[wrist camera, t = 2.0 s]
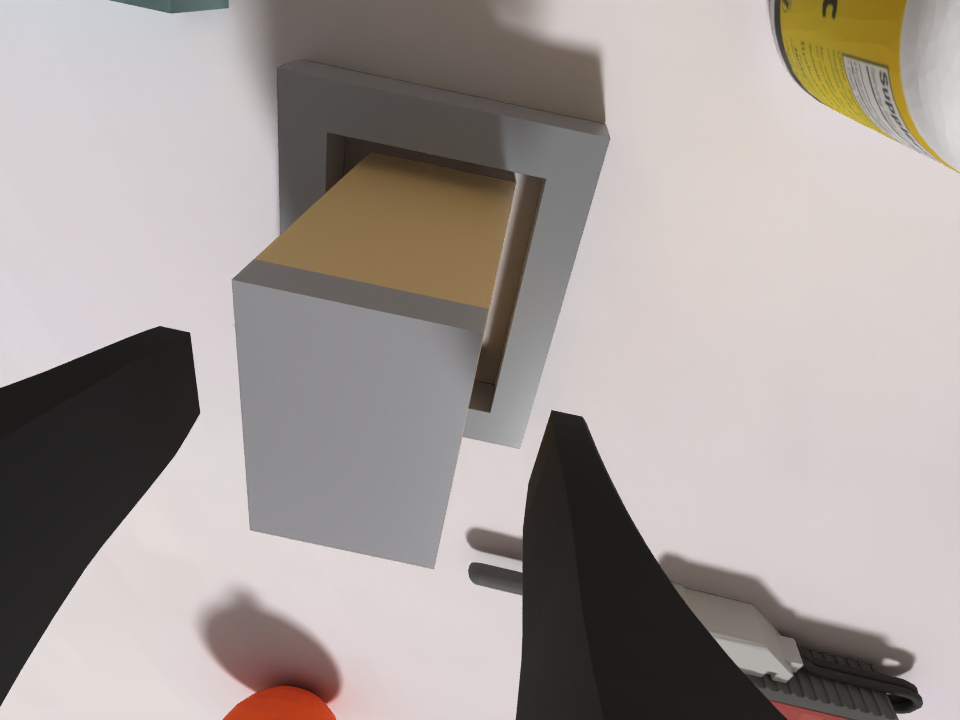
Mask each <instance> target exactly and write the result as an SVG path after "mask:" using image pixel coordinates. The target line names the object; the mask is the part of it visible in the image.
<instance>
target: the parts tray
mask: <svg viewBox="0 0 960 720" xmlns="http://www.w3.org/2000/svg"><path fill="white" fill-rule="evenodd" d="M111 1H115V2H120V3H125V4H130V5H134V6H139V7H144V8H148V9H153V10H158V11H162V12H167V13H181V12H191V11H202V10H212V9H223V8H228V0H111Z"/></svg>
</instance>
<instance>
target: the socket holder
mask: <svg viewBox="0 0 960 720" xmlns="http://www.w3.org/2000/svg"><path fill="white" fill-rule="evenodd" d="M277 98H278V148H279V198H280V235H281V234H282V233H283V232H284V231H285V230H286V229H287V228H289V227H290V226H291V225H292V224H293V223H294V222H295V221H296V220H297V219H298V218H299V217H300V216H302V215H303V214H304V213H305V212H306V211H307V210H308V209H309V208H310V207H311V206H312V205H313V204H315V203H316V202H317V201H318V200H319V199H320V198H321V197H322V196H323V195H324V194H325V193H326V192H328V191H329V190H330V189H331V188H332V187H333V186H334V185H335V184H336V183H337V182H338V181H340V180H341V179H342V178H343V176H344V153H345V136H347V137H351V138H356V139H361V140H365V141H370V142H375V143H380V144H384V145H389V146H394V147H398V148H403V149H408V150H412V151H417V152H422V153H427V154H431V155H436V156H441V157H445V158H450V159H455V160H460V161H464V162H469V163H474V164H478V165H483V166H488V167H493V168H497V169H502V170H507V171H511V172H516V173H521V174H525V175H530V176H535V177H540V178H544V180H543V184H542V189H541V193H540V197H539V201H538V205H537V210H536V214H535V218H534V222H533V226H532V231H531V235H530V239H529V243H528V248H527V252H526V256H525V260H524V264H523V269H522V273H521V277H520V281H519V285H518V290H517V294H516V298H515V302H514V307H513V311H512V315H511V319H510V323H509V328H508V332H507V336H506V340H505V344H504V349H503V353H502V357H501V361H500V366H499V370H498V374H497V378H496V382H495V385H492V384H488V383H483V382H478V381H474V384H473V389H472V393H471V398H470V403H469V407H468V412H467V417H466V421H465V426H464V431H463V435H462V437H465V438H470V439H475V440H480V441H484V442H489V443H494V444H498V445H503V446H508V447H513V448H517V449H520V447H521V444H522V440H523V437H524V433H525V430H526V426H527V423H528V420H529V416H530V413H531V409H532V406H533V402H534V399H535V395H536V392H537V389H538V385H539V382H540V378H541V375H542V371H543V368H544V364H545V361H546V358H547V354H548V351H549V347H550V344H551V340H552V337H553V333H554V330H555V327H556V323H557V320H558V316H559V313H560V309H561V306H562V302H563V299H564V296H565V292H566V289H567V285H568V282H569V278H570V275H571V271H572V268H573V265H574V261H575V258H576V254H577V251H578V247H579V244H580V240H581V237H582V234H583V230H584V227H585V223H586V220H587V216H588V213H589V209H590V206H591V203H592V199H593V196H594V192H595V189H596V185H597V182H598V178H599V175H600V172H601V168H602V165H603V161H604V158H605V154H606V151H607V147H608V144H609V141H610V136H609V133H608V129H607V126H606V124H602V123H597V122H592V121H587V120H583V119H578V118H573V117H569V116H564V115H559V114H554V113H550V112H545V111H540V110H536V109H531V108H526V107H522V106H517V105H512V104H507V103H503V102H498V101H493V100H489V99H484V98H479V97H474V96H470V95H465V94H460V93H456V92H451V91H446V90H442V89H437V88H432V87H427V86H423V85H418V84H413V83H409V82H404V81H399V80H394V79H390V78H385V77H380V76H376V75H371V74H366V73H361V72H357V71H352V70H347V69H343V68H338V67H333V66H329V65H324V64H319V63H314V62H310V61H305V60H299V61H295V62H292V63H289V64H286V65H283V66H280V67H277Z"/></svg>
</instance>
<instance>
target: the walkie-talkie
mask: <svg viewBox="0 0 960 720" xmlns="http://www.w3.org/2000/svg"><path fill="white" fill-rule="evenodd" d="M468 572H469V578H470V579H471V581H472V582H473V583H475V584H476V585H480V586H485V587H489V588H493V589H497V590H501V591H506V592H510V593H514V594H518V595H522V596H523V573H521V572H517V571H513V570H508V569H504V568H500V567H495V566H491V565H487V564H483V563H474V562H473V563H471V564H470V566H469V569H468ZM671 583H672V584H673V586H674V587H675V589H676V590H677V592H678V593H679V594H680V596H681V597H682V598H683V600H684V601H685V602H686V604H687V605H688V606H689V608H690V609H691V610H692V612H693V613H694V614H695V615H696V617H697V618H698V619H699V620H700V622H701V623H702V624H703V625H704V626H705V628H706V629H707V630H708V631H709V633H710V634H711V635H712V636H713V637H714V639H715V640H716V641H717V642H718V644H719V645H720V646H721V647H722V648H723V650H724V651H725V652H726V653H727V654H728V656H729V657H730V658H731V659H732V660H733V661H734V663H735V664H736V665H737V666H738V667H739V668H740V669H741V671H742V672H743V673H744V674H745V675H746V676H747V677H748V678H749V679H750V680H751V681H752V682H753V684H754V685H755V686H756V687H757V688H758V689H759V690H760V691H761V692H762V693H763V694H764V695H765V696H766V698H767V699H768V700H769V701H770V702H771V703H772V704H773V705H774V706H775V707H776V708H777V709H778V710H779V711H780V712H781V713H782V714H783V715H784V716H785V717H786V718H787V719H788V720H899V719H898V717H897V715H896V713H897V714H904V713H911V712H913V711H915V710H917V709H919V708H921V707H922V704H923V701H922V697H921V696H920V695H919V694H918V690H917V688H916V686H915V685H914V684H912V683H910V682H908V681H906V680H904V679H901V678H897V677H892V676H888V675H884V674H880V673H877V672H876V670H875V668H874V667H873V665H872V664H870V665H867V664H863V662H860V661H858V662H854V661H851V659H842V658H839V656H829V655H827V653H822V654H821V653H817V652H815V651H814V650H810V651H808V650H804V649H803V648H802V647H798V648H797V645H796V642H795V639H793V638H789V637H785V636H780V634H779V632H778V631H777V630H776V629H775V628H774V627H773V626H772V624H771V623H770V622H769V621H768V620H767V619H766V618H765V617H764V616H763V615H762V614H761V612H760V611H759V610H758V609H757V608H756V607H755V606H754V605H752V604H748V603H744V602H740V601H736V600H732V599H728V598H724V597H720V596H716V595H712V594H708V593H704V592H700V591H695V590H691V589H687V588H685V587H684V586H683V585H681V584H677V583H673V582H671ZM887 693H889V694H887Z"/></svg>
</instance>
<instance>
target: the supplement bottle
mask: <svg viewBox="0 0 960 720" xmlns="http://www.w3.org/2000/svg"><path fill="white" fill-rule="evenodd" d="M770 20H771V28H772V34H773V38H774V42H775V46H776V49H777V52H778V54H779V57H780V59H781V61H782V63H783V65H784V67H785V69H786V70H787V72H788V73H789V74H790V76H791V77H792V79H793V80H794V81H795V82H796V83H797V84H798V85H799V86H800V87H801V88H802V89H803V90H804V91H806V92H807V93H808V94H809V95H811V96H812V97H814V98H815V99H816V100H818V101H819V102H821V103H822V104H824V105H826V106H828V107H830V108H831V109H833V110H835V111H837V112H839V113H841V114H843V115H845V116H847V117H849V118H851V119H853V120H855V121H857V122H859V123H861V124H863V125H865V126H867V127H869V128H871V129H873V130H875V131H877V132H879V133H881V134H883V135H885V136H887V137H889V138H891V139H893V140H895V141H897V142H899V143H901V144H903V145H905V146H907V147H909V148H911V149H913V150H915V151H917V152H919V153H921V154H923V155H925V156H928V157H930V158H931V159H933V160H935V161H937V162H939V163H941V164H943V165H945V166H947V167H949V168H951V169H953V170H955V171H956V172H958V173H960V0H771V1H770Z"/></svg>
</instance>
